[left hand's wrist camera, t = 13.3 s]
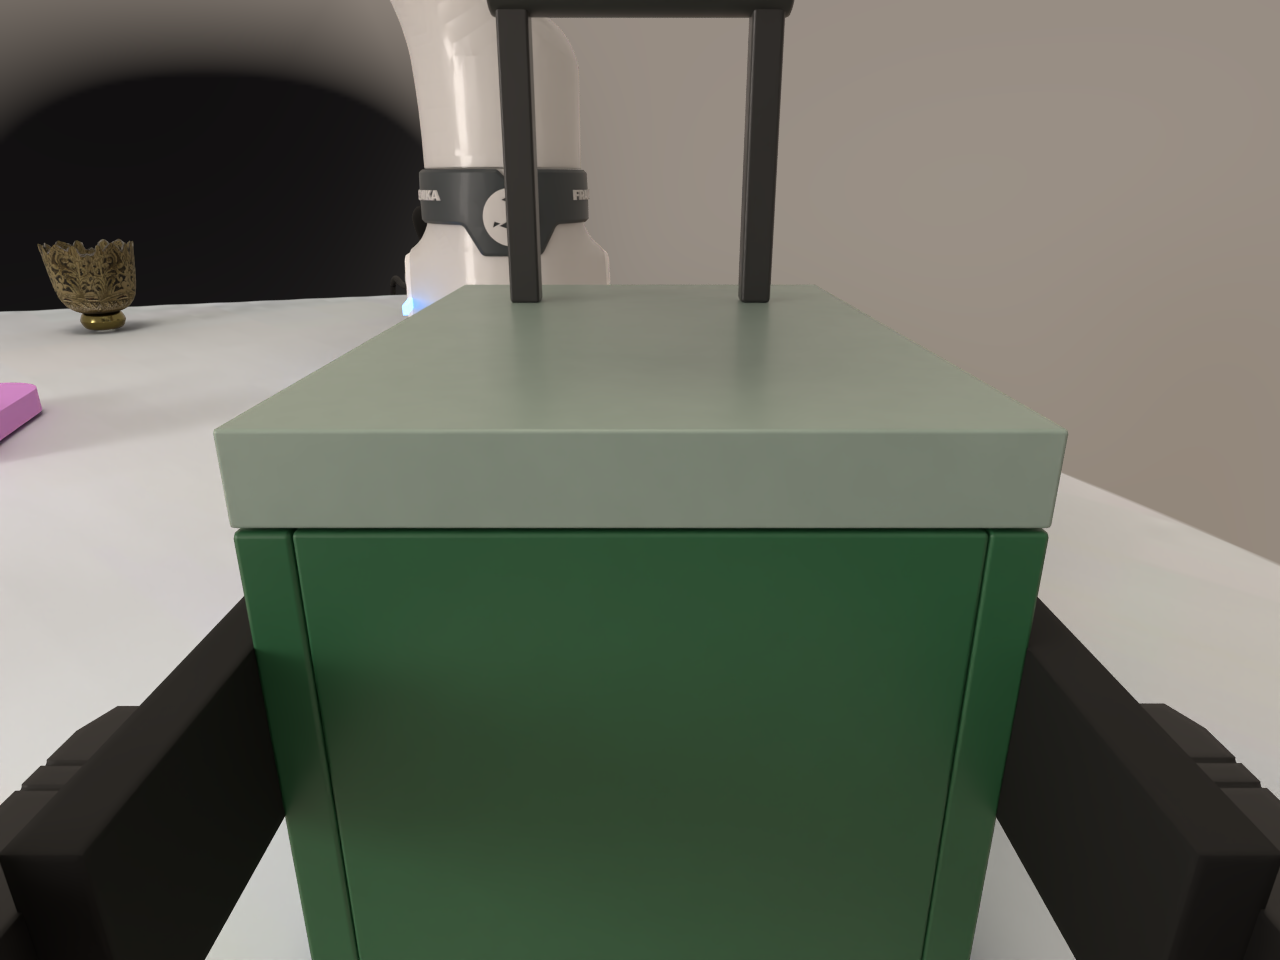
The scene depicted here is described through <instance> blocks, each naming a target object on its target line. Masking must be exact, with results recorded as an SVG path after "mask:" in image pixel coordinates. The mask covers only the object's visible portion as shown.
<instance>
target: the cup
mask: <svg viewBox="0 0 1280 960" xmlns="http://www.w3.org/2000/svg"><path fill="white" fill-rule="evenodd" d="M38 248H39V251H40V253H41V256H42V259H43V261H44V264H45V267H46V269H47V272H48V275H49V277H50V280H51V282H52V285H53V287H54V289H55V291H56V293H57V295H58V297H59V299H60V300H61V301H62V302H63V303H64V304H65V305H66V306H67V307H68V308H70V309H72V310H74V311H76V312H79V313H82V315H81V319H80V322H81V323H82V325H83V326H84V327H85V328H86V329H89V330H110V329H116V328H120V327H122V326H123V325H124V324H125V321H126V317H125V315H124V314H123V313H122V312H121V311H120V310H123V309H125V308H127V307H128V306H129V305H130V304H131V303H132V301H133V299H134V297H135V292H136V275H135V262H134V251H133V241H132V242H131V241H129V242H128V243H127V245H126V244H125V243H124V242H123V241H121V240H120V239H118V240H115V241H114V242H112V243H108V241H106V240H104V239H102V240H101V241H99V242H98V244H97V246H96V247H95V249H93V248H91V249H89V250H87V249H85V248H84V246H83V243H82V242H79V241H75V242H74V244H73V246H72V245H70V244H68V243H64V242H60V241H57V242H56V243H55V245H53V247H52V248H51V247H50V246H49V245H47V244H45V243H44V246H43V245H42V246H41V245H40V244H38Z"/></svg>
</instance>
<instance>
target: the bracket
mask: <svg viewBox="0 0 1280 960" xmlns="http://www.w3.org/2000/svg"><path fill="white" fill-rule="evenodd" d="M41 411H42V407H41V403H40V399H39V396H38V392H37V388H36V386H35V385H32V384H27V383H0V440H2V439H3V438H4V437H6V436H7V435H9V434H10V433H12V432H13V431H14V430H16V429H17V428H19V427H20V426H21V425H23V424H24V423H26V422H27V421H28V420H30V419H31V418H33V417H34V416H35V415H37V414H38V413H40V412H41Z"/></svg>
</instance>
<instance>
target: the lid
mask: <svg viewBox="0 0 1280 960" xmlns="http://www.w3.org/2000/svg"><path fill="white" fill-rule="evenodd" d="M793 4H794V0H487V5H488V9H489V11H490V14H491V15H492V16H493V17H495V18H496V35H497V54H498V72H499V91H500V110H501V129H502V148H503V167H504V186H505V205H506V224H507V243H508V262H509V280H510V285H464V286H462V287H460V288H459V289H457V290H455V291H453V292H452V293H450V294H448V295H446V296H445V297H443V298H441V299H440V300H438V301H436V302H434V303H433V304H431V305H429V306H427V307H426V308H424V309H422V310H420V311H419V312H417V313H415V314H414V315H412V316H410V317H408V318H407V319H405V320H403V321H401V322H400V323H398V324H396V325H395V326H393V327H391V328H389V329H388V330H386V331H384V332H382V333H381V334H379V335H377V336H375V337H374V338H372V339H370V340H369V341H367V342H365V343H363V344H362V345H360V346H358V347H356V348H355V349H353V350H351V351H350V352H348V353H346V354H344V355H343V356H341V357H339V358H337V359H336V360H334V361H332V362H330V363H329V364H327V365H325V366H324V367H322V368H320V369H318V370H317V371H315V372H313V373H311V374H310V375H308V376H306V377H305V378H303V379H301V380H299V381H298V382H296V383H294V384H292V385H291V386H289V387H287V388H285V389H284V390H282V391H280V392H279V393H277V394H275V395H273V396H272V397H270V398H268V399H266V400H265V401H263V402H261V403H260V404H258V405H256V406H254V407H253V408H251V409H249V410H247V411H246V412H244V413H242V414H240V415H239V416H237V417H235V418H234V419H232V420H230V421H228V422H227V423H225V424H223V425H221V426H220V427H218V428H216V429H215V430H214V433H213V435H214V440H215V446H216V451H217V456H218V462H219V467H220V473H221V478H222V483H223V489H224V494H225V500H226V505H227V510H228V516H229V521H230V525H231V527H233V528H1049V527H1050V526H1051V523H1052V518H1053V512H1054V507H1055V501H1056V496H1057V491H1058V485H1059V480H1060V475H1061V469H1062V464H1063V458H1064V453H1065V448H1066V442H1067V437H1068V431H1067V429H1065V428H1063V427H1061V426H1060V425H1058V424H1056V423H1054V422H1053V421H1051V420H1049V419H1047V418H1046V417H1044V416H1042V415H1040V414H1039V413H1037V412H1035V411H1034V410H1032V409H1030V408H1028V407H1027V406H1025V405H1023V404H1021V403H1020V402H1018V401H1016V400H1014V399H1013V398H1011V397H1009V396H1007V395H1006V394H1004V393H1002V392H1000V391H999V390H997V389H995V388H994V387H992V386H990V385H988V384H987V383H985V382H983V381H981V380H980V379H978V378H976V377H974V376H973V375H971V374H969V373H968V372H966V371H964V370H962V369H961V368H959V367H957V366H955V365H954V364H952V363H950V362H948V361H947V360H945V359H943V358H941V357H940V356H938V355H936V354H934V353H933V352H931V351H929V350H928V349H926V348H924V347H922V346H921V345H919V344H917V343H915V342H914V341H912V340H910V339H908V338H907V337H905V336H903V335H901V334H900V333H898V332H896V331H894V330H893V329H891V328H889V327H888V326H886V325H884V324H882V323H881V322H879V321H877V320H875V319H874V318H872V317H870V316H868V315H867V314H865V313H863V312H861V311H860V310H858V309H856V308H855V307H853V306H851V305H849V304H848V303H846V302H844V301H842V300H841V299H839V298H837V297H835V296H834V295H832V294H830V293H828V292H827V291H825V290H823V289H821V288H820V287H818V286H816V285H771V268H772V248H773V230H774V211H775V193H776V175H777V156H778V137H779V119H780V100H781V81H782V63H783V44H784V25H785V18H786V17H788V16H789V15H790V13H791V10H792V8H793ZM531 18H749V40H748V64H747V88H746V114H745V138H744V162H743V187H742V212H741V237H740V261H739V285H542V273H541V248H540V223H539V198H538V172H537V147H536V122H535V97H534V72H533V46H532V21H531Z"/></svg>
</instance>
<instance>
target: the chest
mask: <svg viewBox="0 0 1280 960" xmlns="http://www.w3.org/2000/svg"><path fill="white" fill-rule="evenodd" d="M234 543H235V548H236V553H237V559H238V564H239V570H240V575H241V580H242V586H243V591H244V597H245V602H246V607H247V613H248V618H249V624H250V629H251V634H252V640H253V645H254V651H255V656H256V661H257V667H258V672H259V678H260V683H261V688H262V694H263V699H264V705H265V710H266V715H267V721H268V726H269V732H270V737H271V742H272V748H273V753H274V759H275V764H276V769H277V775H278V780H279V785H280V791H281V796H282V802H283V807H284V812H285V818H286V823H287V829H288V834H289V839H290V845H291V850H292V856H293V861H294V866H295V872H296V877H297V883H298V888H299V893H300V899H301V904H302V910H303V915H304V920H305V926H306V931H307V937H308V942H309V947H310V953H311V958H312V960H970V954H971V949H972V944H973V938H974V933H975V928H976V922H977V917H978V912H979V906H980V901H981V896H982V890H983V885H984V880H985V874H986V869H987V864H988V858H989V853H990V847H991V842H992V837H993V831H994V826H995V821H996V813H997V808H998V802H999V797H1000V791H1001V786H1002V781H1003V775H1004V770H1005V765H1006V759H1007V754H1008V749H1009V743H1010V738H1011V732H1012V727H1013V722H1014V716H1015V711H1016V706H1017V700H1018V695H1019V689H1020V684H1021V679H1022V673H1023V668H1024V663H1025V657H1026V652H1027V648H1028V644H1029V639H1030V634H1031V628H1032V623H1033V617H1034V612H1035V607H1036V601H1037V596H1038V591H1039V585H1040V580H1041V575H1042V569H1043V564H1044V559H1045V553H1046V548H1047V543H1048V534H1047V532H1046V531H1044V530H1043V529H1042V528H240V529H239V530H238V531H236V532H235V535H234Z"/></svg>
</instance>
